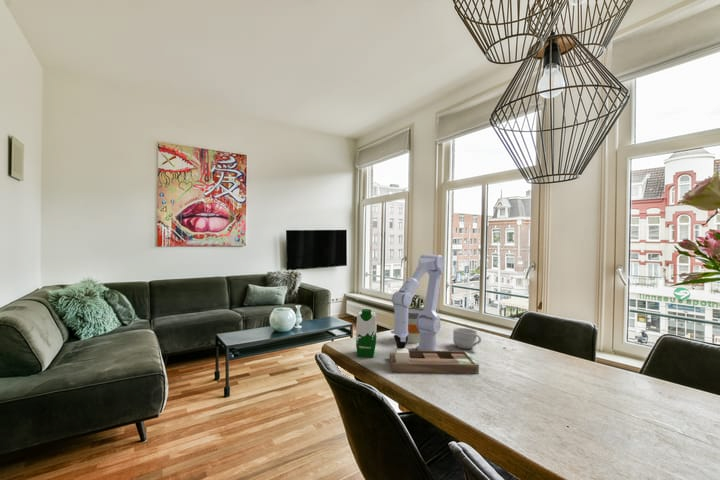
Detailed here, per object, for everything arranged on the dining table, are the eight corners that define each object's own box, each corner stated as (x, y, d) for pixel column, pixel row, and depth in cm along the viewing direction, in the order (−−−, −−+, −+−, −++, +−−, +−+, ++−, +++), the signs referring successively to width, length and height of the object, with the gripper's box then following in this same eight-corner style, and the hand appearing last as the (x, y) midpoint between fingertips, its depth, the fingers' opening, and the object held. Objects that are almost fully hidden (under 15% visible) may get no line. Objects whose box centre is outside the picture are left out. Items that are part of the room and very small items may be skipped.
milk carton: (354, 357, 141) (355, 310, 141) (357, 349, 150) (357, 306, 150) (375, 358, 141) (376, 311, 140) (376, 351, 150) (377, 307, 149)
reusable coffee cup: (411, 334, 175) (412, 306, 174) (430, 340, 165) (431, 311, 165) (394, 339, 167) (395, 309, 166) (413, 346, 157) (414, 314, 157)
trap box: (388, 357, 142) (388, 350, 142) (465, 358, 142) (466, 351, 142) (392, 372, 127) (392, 363, 127) (478, 373, 127) (478, 365, 127)
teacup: (448, 344, 160) (448, 328, 160) (465, 341, 165) (465, 325, 164) (468, 354, 147) (469, 336, 147) (486, 351, 152) (487, 333, 152)
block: (394, 357, 135) (395, 348, 135) (407, 357, 135) (407, 348, 135) (396, 362, 130) (396, 352, 130) (409, 362, 130) (409, 352, 130)
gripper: (389, 316, 144) (389, 347, 144) (393, 325, 129) (392, 360, 129) (406, 316, 144) (405, 347, 144) (411, 325, 129) (410, 360, 129)
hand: (400, 353), depth 137 cm, fingers closed
